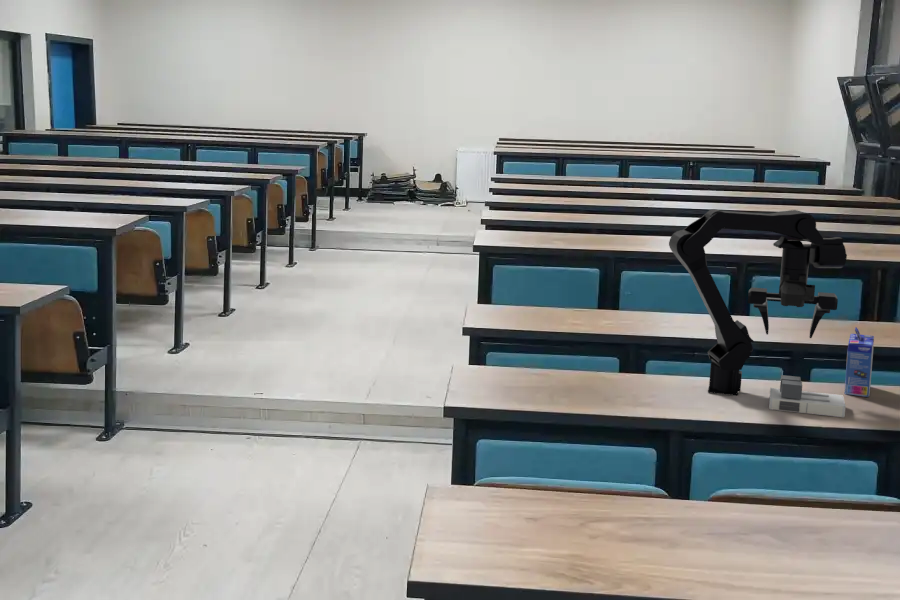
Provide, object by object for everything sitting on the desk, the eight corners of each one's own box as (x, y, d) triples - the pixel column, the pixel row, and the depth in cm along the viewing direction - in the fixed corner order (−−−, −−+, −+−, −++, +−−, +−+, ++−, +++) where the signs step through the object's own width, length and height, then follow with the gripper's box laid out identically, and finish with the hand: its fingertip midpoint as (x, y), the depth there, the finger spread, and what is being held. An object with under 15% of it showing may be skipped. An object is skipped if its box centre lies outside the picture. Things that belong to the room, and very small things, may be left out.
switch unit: (769, 409, 203) (770, 398, 203) (769, 398, 211) (770, 387, 210) (844, 418, 199) (845, 406, 198) (841, 406, 206) (843, 394, 206)
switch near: (781, 397, 203) (782, 383, 202) (781, 393, 206) (782, 379, 205) (801, 399, 202) (802, 385, 201) (800, 395, 204) (802, 381, 204)
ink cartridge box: (844, 383, 224) (851, 323, 221) (870, 386, 221) (877, 325, 218) (842, 394, 215) (849, 332, 212) (869, 397, 213) (876, 335, 210)
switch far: (779, 392, 206) (781, 378, 206) (779, 388, 209) (781, 375, 209) (799, 394, 205) (800, 380, 205) (799, 390, 208) (800, 376, 207)
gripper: (749, 270, 206) (744, 340, 209) (842, 276, 200) (834, 348, 203) (751, 262, 216) (745, 329, 220) (839, 268, 210) (832, 336, 214)
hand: (788, 335), depth 214 cm, fingers open, 9 cm apart
